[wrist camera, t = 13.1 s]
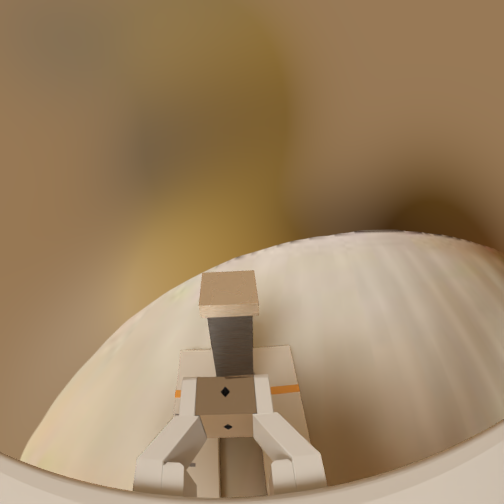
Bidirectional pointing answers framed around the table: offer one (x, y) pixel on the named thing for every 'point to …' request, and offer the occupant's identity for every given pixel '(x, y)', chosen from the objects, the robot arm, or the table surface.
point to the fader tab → (230, 319)
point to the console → (283, 398)
